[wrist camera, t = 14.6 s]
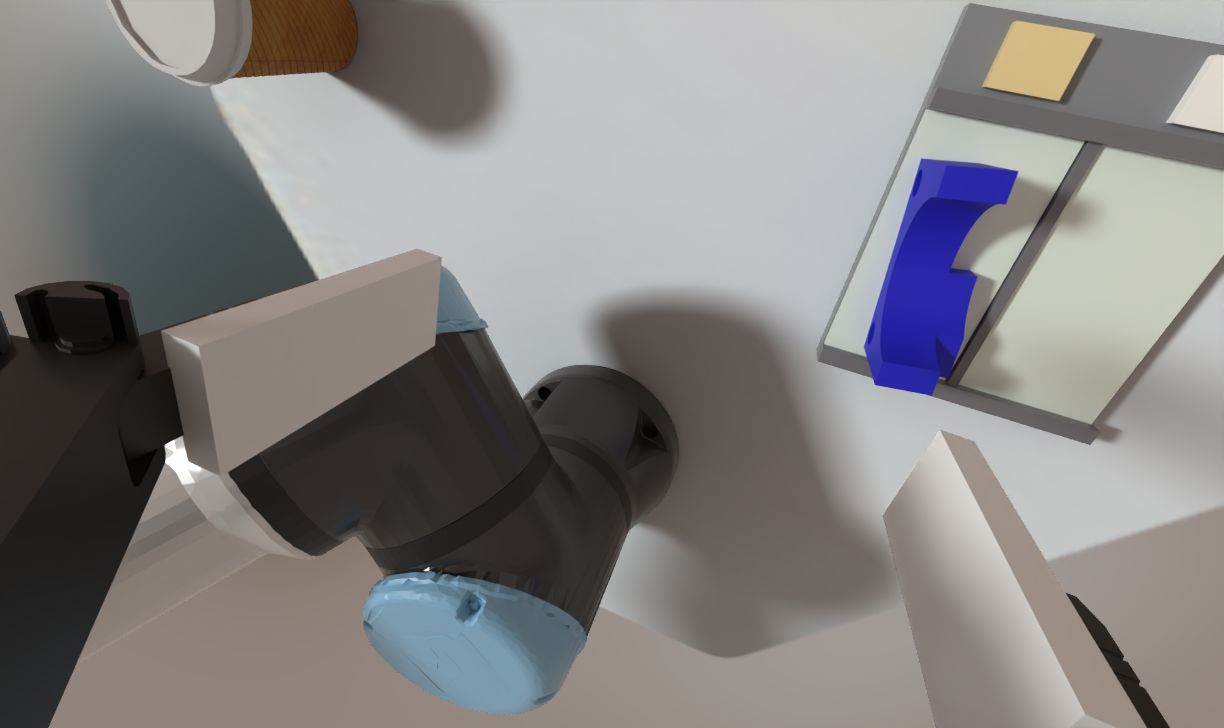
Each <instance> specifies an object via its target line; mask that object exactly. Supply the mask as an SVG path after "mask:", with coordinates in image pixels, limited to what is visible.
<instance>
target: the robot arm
mask: <svg viewBox="0 0 1224 728" xmlns="http://www.w3.org/2000/svg"><path fill="white" fill-rule="evenodd" d="M441 260H442V257H440V256H437V255H434V254H431V253H428V252H425V251H422V250H419V249H415V250H412V251H409V252H406V253H403V254H399V255H396V256H393V257H390V258H387V259H384V260H381V261H378V262H375V263H371V264H368V265H365V266H362V267H359V268H356V269H353V270H350V271H346V272H343V273H340V274H337V275H334V276H331V277H328V278H325V279H321V280H318V281H315V282H312V283H309V284H306V285H303V286H300V287H297V288H293V289H290V290H287V291H284V292H281V293H278V294H275V295H272V296H268V297H265V298H260V299H254V300H251V301H247V302H244V303H241V304H238V305H235V306H232V307H231V309H227V308H226V309H222V310H219V311H216V312H213V313H212V314H211V315H203V316H200V317H197V318H194V319H191V320H188V321H184V322H181V323H178V324H175V325H172V326H169V327H165V328H162V329H159V330H156V331H153V332H150V333H146V334H143V335H140V336H139V333H138V329H137V325H136V320H135V316H134V311H133V307H132V303H131V298H130V294H129V293H128V292H127V291H126V290H125V289H124V288H122V287H119V286H116V285H113V284H110V283H103V282H94V281H65V282H56V283H48V284H43V285H39V286H35V287H31V288H27V289H25V290H23V291H21V292H19V293H17V294H16V295H15V298H16V301H17V304H18V307H19V310H20V313H21V316H22V319H23V322H24V324H25V328H26V330H27V334H28V336H29V338H25V337H19V336H13V335H9V332H8V329H7V327H6V324H5V321H4V318H3V316H2V313H1V311H0V728H48V727H49V725H50V722H51V720H52V718H53V715H54V713H55V711H56V709H57V707H58V704H59V702H60V700H61V697H62V695H63V693H64V691H65V688H66V686H67V684H68V682H69V679H70V677H71V675H72V673H73V670H74V668H75V666H76V664H78V663H80V662H81V661H83V660H85V659H87V658H88V657H90V656H92V655H93V654H95V653H97V652H99V651H100V650H102V649H104V648H105V647H107V646H109V645H111V644H112V643H114V642H116V641H118V640H119V639H121V638H123V637H124V636H126V635H128V634H129V633H131V632H133V631H135V630H136V629H138V628H140V627H142V626H143V625H145V624H147V623H148V622H150V621H152V620H154V619H155V618H157V617H159V616H160V615H162V614H164V613H166V612H167V611H169V610H171V609H172V608H174V607H176V606H177V605H179V604H181V603H183V602H184V601H186V600H188V599H190V598H191V597H193V596H195V595H196V594H198V593H200V592H201V591H203V590H205V589H207V588H209V587H210V586H212V585H214V584H215V583H217V582H219V581H221V580H222V579H224V578H226V577H227V576H229V575H231V574H232V573H234V572H236V571H238V570H239V569H241V568H243V567H245V566H246V565H248V564H250V563H251V562H253V561H255V560H256V559H258V558H260V557H262V556H263V555H265V554H275V553H276V554H280V555H286V556H290V557H296V558H301V559H314V558H317V557H319V556H321V555H323V554H325V553H326V552H328V551H329V550H331V549H333V548H334V547H336V546H338V545H339V544H341V543H343V542H344V541H346V540H348V539H349V538H351V537H354V536H356V537H357V538H358V539H359V540H360V541H361V542H362V543H363V545H364V546H365V547H366V549H367V550H368V552H369V553H370V555H371V556H372V558H373V559H374V561H375V562H376V564H377V565H378V567H379V568H380V570H381V572H382V573H383V575H384V579H383V580H379V581H378V582H377V583H376V584H375V585H374V586H373V587H372V588H371V591H370V592H369V598H368V599H367V601H366V602H365V605H364V607H363V619H364V622H363V625H364V630H365V633H366V635H367V637H368V639H369V641H370V643H371V644H372V646H373V647H374V648H375V650H376V651H377V652H378V653H379V655H380V656H381V657H382V658H383V659H384V660H385V661H386V662H387V663H388V664H389V665H390V666H391V667H393V668H394V669H395V670H396V671H397V672H398V673H400V674H401V675H402V676H404V677H405V678H406V679H408V680H409V681H411V682H412V683H414V684H415V685H417V686H419V687H420V688H422V689H424V690H426V691H427V692H429V693H431V694H433V695H435V696H437V697H439V698H441V699H444V700H446V701H448V702H451V703H453V704H456V705H458V706H462V707H465V708H468V709H472V710H476V711H480V712H485V713H492V714H519V713H524V712H528V711H532V710H534V709H536V708H539V707H541V706H542V705H544V704H546V703H547V702H548V701H550V700H551V699H552V698H553V697H554V696H555V695H556V693H557V692H558V691H559V690H560V688H561V686H562V685H563V683H564V681H565V679H566V677H567V674H568V673H569V671H570V668H571V666H572V664H573V662H574V660H575V658H576V656H577V655H578V654H579V653H580V652H581V650H582V649H583V648H584V646H585V644H586V640H587V636H588V633H589V630H590V628H591V625H592V623H593V620H594V618H595V615H596V612H597V610H598V608H599V605H600V602H601V600H602V597H603V595H604V592H605V590H606V587H607V585H608V582H609V580H610V577H611V574H612V572H613V569H614V567H615V564H616V562H617V559H618V557H619V554H620V551H621V549H622V546H623V544H624V541H625V538H626V536H627V534H628V532H629V530H631V529H632V528H633V527H634V526H635V525H636V524H637V523H638V522H639V521H640V520H642V519H643V518H644V517H645V516H646V515H647V514H648V513H649V512H650V511H651V510H652V509H654V508H655V507H656V506H657V505H658V504H659V503H660V501H661V500H662V499H663V497H664V496H665V494H666V492H667V491H668V489H669V487H670V484H671V481H672V479H673V476H674V473H675V470H676V467H677V462H678V441H677V436H676V432H675V429H674V426H673V424H672V422H671V420H670V418H669V416H668V414H667V412H666V411H665V409H664V408H663V406H662V405H661V404H660V403H659V401H658V400H657V399H656V398H655V397H654V396H653V395H652V394H651V393H650V392H649V391H648V390H647V389H646V388H644V387H643V386H642V385H641V384H639V383H638V382H636V381H635V380H633V379H631V378H630V377H628V376H626V375H624V374H622V373H619V372H617V371H614V370H611V369H608V368H604V367H599V366H592V365H575V366H569V367H564V368H561V369H558V370H556V371H553V372H551V373H550V374H548V375H546V376H545V377H543V378H542V379H541V380H540V381H539V382H538V383H537V384H536V385H535V386H534V387H533V388H532V389H531V390H530V391H529V392H528V393H527V394H526V395H525V396H524V397H523V399H522V397H521V396H520V394H519V392H518V390H517V388H516V386H515V384H514V383H513V381H512V379H511V377H510V375H509V373H508V372H507V370H506V368H505V366H504V364H503V362H502V360H501V359H500V357H499V355H498V353H497V351H496V349H495V347H494V346H493V344H492V342H491V340H490V338H489V336H488V334H487V332H486V330H485V328H488V325H487V323H486V322H485V321H484V320H483V319H480V318H479V316H478V314H477V313H476V311H475V309H474V308H473V306H472V304H471V303H470V301H469V299H468V298H467V296H466V294H465V293H464V291H463V289H462V288H461V286H460V284H459V283H458V281H457V279H456V278H455V277H454V275H453V274H452V273H451V272H450V271H449V270H448V269H446V268H445V267H443V266H442V265H441ZM883 518H884V522H885V526H886V530H887V534H888V538H889V542H890V546H891V550H892V554H893V558H894V562H895V566H896V570H897V574H898V578H899V582H900V586H901V590H902V594H903V598H904V602H905V606H906V610H907V613H908V618H909V622H910V626H911V630H912V634H913V638H914V642H915V646H916V650H917V654H918V658H919V662H920V665H921V670H922V674H923V678H924V682H925V686H926V689H927V694H928V698H929V702H930V706H931V710H932V714H933V718H934V722H935V726H936V728H1170V727H1169V726H1168V724H1167V723H1166V721H1165V719H1164V718H1163V716H1162V715H1161V713H1160V712H1159V710H1158V708H1157V707H1156V705H1155V704H1154V702H1153V701H1152V699H1151V697H1150V696H1149V694H1148V693H1147V691H1146V690H1145V689H1144V688H1143V687H1140V686H1139V683H1140V680H1139V679H1138V678H1137V676H1136V674H1135V673H1134V671H1133V669H1132V668H1131V666H1130V665H1129V663H1128V662H1126V661H1123V657H1124V656H1123V654H1122V652H1121V651H1120V649H1119V648H1118V646H1117V644H1116V643H1115V641H1114V640H1113V638H1112V637H1111V635H1110V634H1109V632H1108V631H1107V629H1106V627H1105V626H1104V625H1103V624H1102V623H1101V622H1100V621H1099V620H1098V619H1097V618H1096V617H1095V616H1094V615H1093V614H1092V613H1091V612H1090V611H1089V609H1088V608H1087V607H1086V606H1085V605H1084V604H1082V602H1081V601H1080V600H1079V599H1078V598H1077V597H1075V596H1073V595H1070V594H1068V593H1065V591H1064V590H1063V588H1062V586H1061V585H1060V583H1059V581H1058V580H1057V578H1056V576H1055V575H1054V573H1053V571H1052V570H1051V568H1050V567H1049V565H1048V563H1047V561H1046V560H1045V558H1044V556H1043V555H1042V553H1041V551H1040V550H1039V548H1038V546H1037V545H1036V543H1035V541H1034V540H1033V538H1032V536H1031V535H1030V533H1029V531H1028V530H1027V528H1026V526H1025V525H1024V523H1023V521H1022V520H1021V518H1020V516H1019V515H1018V513H1017V512H1016V510H1015V508H1014V507H1013V505H1012V503H1011V502H1010V500H1009V498H1008V497H1007V495H1006V493H1005V492H1004V490H1003V488H1002V487H1001V485H1000V483H999V482H998V480H997V478H996V477H995V475H994V473H993V472H992V470H991V468H990V467H989V465H988V463H987V462H986V460H985V458H984V457H983V455H982V453H981V452H980V450H979V448H978V447H977V445H976V444H975V442H974V441H971V440H968V439H965V438H962V437H960V436H957V435H954V434H951V433H948V432H945V431H942V430H939V431H938V433H937V434H936V436H935V438H934V439H933V441H932V442H931V444H930V445H929V447H928V448H927V450H926V451H925V453H924V454H923V456H922V457H921V459H920V460H919V462H918V463H917V465H916V466H915V468H914V469H913V471H912V472H911V474H910V475H909V477H908V478H907V480H906V481H905V483H904V484H903V486H902V487H901V489H900V491H899V492H898V494H897V495H896V497H895V498H894V500H893V501H892V503H891V504H890V506H889V507H888V509H887V510H886V512H885V513H884V515H883Z"/></svg>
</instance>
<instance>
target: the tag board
mask: <svg viewBox="0 0 1224 728" xmlns="http://www.w3.org/2000/svg"><path fill="white" fill-rule="evenodd" d="M921 158H922V159H934V160H946V161H959V162H971V163H981V164H986V165H991V166H996V167H1000V168H1005V169H1010V170H1015V171H1019V172H1018V174H1017V177H1016V180H1015V182H1014V185H1013V187H1012V190H1011V193H1010V195H1009V198H1008V200H1007V203H1006V205H1005V204H997V205H994V206H993V207H991V208H989V209H988V210H987V211H985V212H984V213H983V214H982V215H981V216H980V217H979V219H978V220H977V221H976V222H975V224H974V225H973V226H972V228H971V229H970V231H969V232H968V234H967V236H966V237H965V239H964V241H963V243H962V244H961V246H960V248H959V250H958V252H957V255H956V257H955V259H954V261H953V264H952V266H951V268H954V269H962V270H970V271H971V272H973V273H974V274H975V275H976V276H977V280H976V283H975V285H974V288H973V292H972V295H971V299H970V302H969V306H968V311H967V316H966V322H965V331H964V340H963V342H962V345H961V347H960V350H959V352H958V355H957V357H956V360H955V362H954V365H953V367H952V370H951V373H950V375H949V378H943V377H939V379H938V381H937V384H936V387H935V389H934V392H933V394H932V395H929V396H933V397H936V398H939V399H942V400H946V401H949V402H952V403H955V404H959V405H962V406H965V407H969V408H972V409H975V410H978V411H982V412H985V413H988V414H991V415H995V416H998V417H1001V418H1004V419H1008V420H1011V421H1014V422H1017V423H1021V424H1024V425H1027V426H1030V427H1034V428H1037V429H1040V430H1043V431H1047V432H1050V433H1053V434H1056V435H1060V436H1063V437H1066V438H1069V439H1073V440H1076V441H1079V442H1082V443H1086V444H1089V445H1091V443H1092V442H1093V441H1094V440H1095V438H1096V437H1097V436H1098V435H1099V433H1100V431H1099V430H1098V429H1097V428H1096V427H1095V426H1094V425H1093V424H1092V423H1093V422H1094V421H1095V419H1096V418H1097V417H1098V415H1099V414H1100V413H1101V412H1102V410H1103V409H1104V408H1105V406H1106V405H1107V404H1108V403H1109V401H1110V400H1111V399H1112V397H1113V396H1114V395H1115V394H1116V392H1117V391H1118V390H1119V388H1120V387H1121V386H1122V385H1123V383H1124V382H1125V381H1126V379H1127V378H1128V377H1129V376H1130V374H1131V373H1132V372H1133V370H1134V369H1135V368H1136V367H1137V365H1138V364H1139V363H1140V361H1141V360H1142V359H1143V358H1144V356H1145V355H1146V354H1147V352H1148V351H1149V350H1150V349H1151V347H1152V346H1153V345H1154V344H1155V342H1156V341H1157V340H1158V338H1159V337H1160V336H1161V335H1162V333H1163V332H1164V331H1165V329H1166V328H1167V327H1168V326H1169V324H1170V323H1171V322H1172V320H1173V319H1174V318H1175V317H1176V315H1177V314H1178V313H1179V311H1180V310H1181V309H1182V308H1183V306H1184V305H1185V304H1186V302H1187V301H1188V300H1189V299H1190V297H1191V296H1192V295H1193V293H1194V292H1195V291H1196V290H1197V288H1198V287H1199V286H1200V284H1201V283H1202V282H1203V281H1204V279H1205V278H1206V277H1207V275H1208V274H1209V273H1210V272H1211V270H1212V269H1213V268H1214V266H1215V265H1216V264H1217V263H1218V261H1219V260H1220V259H1221V257H1222V256H1223V255H1224V45H1219V44H1213V43H1207V42H1201V41H1195V40H1189V39H1183V38H1177V37H1171V36H1165V35H1159V34H1153V33H1147V32H1141V31H1135V30H1129V29H1123V28H1117V27H1110V26H1104V25H1098V24H1092V23H1086V22H1080V21H1074V20H1068V19H1062V18H1056V17H1050V16H1044V15H1038V14H1032V13H1026V12H1020V11H1014V10H1008V9H1002V8H995V7H989V6H983V5H977V4H971V3H970V4H968V5H967V6H965V7H964V9H963V12H962V14H961V16H960V19H959V21H958V23H957V26H956V28H955V30H954V33H953V35H952V37H951V39H950V42H949V44H948V46H947V49H946V51H945V53H944V56H943V58H942V60H941V63H940V65H939V67H938V70H937V72H936V74H935V77H934V79H933V81H932V83H931V86H930V88H929V90H928V93H927V95H926V97H925V100H924V102H923V104H922V107H921V109H920V111H919V114H918V116H917V118H916V121H915V123H914V125H913V128H912V130H911V132H910V134H909V137H908V139H907V141H906V144H905V146H904V148H903V151H902V153H901V155H900V158H899V160H898V162H897V165H896V167H895V169H894V172H893V174H892V176H891V178H890V181H889V183H888V185H887V188H886V190H885V192H884V195H883V197H882V199H881V202H880V204H879V206H878V209H877V211H876V213H875V216H874V218H873V220H872V223H871V225H870V227H869V229H868V232H867V234H866V236H865V239H864V241H863V243H862V246H861V248H860V250H859V253H858V255H857V257H856V260H855V262H854V264H853V267H852V269H851V271H850V273H849V276H848V278H847V280H846V283H845V285H844V287H843V290H842V292H841V294H840V297H839V299H838V301H837V304H836V306H835V308H834V311H833V313H832V315H831V318H830V320H829V322H828V324H827V327H826V329H825V331H824V334H823V336H822V338H821V341H820V343H819V345H818V348H817V358H818V361H819V362H822V363H825V364H828V365H832V366H835V367H838V368H842V369H845V370H848V371H851V372H855V373H858V374H861V375H864V376H868V377H871V378H873V376H872V373H871V370H870V366H869V363H868V359H867V356H866V353H865V349H864V344H865V341H866V338H867V335H868V331H869V328H870V325H871V321H872V318H873V315H874V312H875V308H876V305H877V302H878V298H879V295H880V292H881V289H882V285H883V282H884V279H885V275H886V272H887V269H888V266H889V262H890V259H891V256H892V252H893V249H894V246H895V243H896V239H897V236H898V233H899V230H900V226H901V223H902V220H903V216H904V213H905V210H906V207H907V203H908V200H909V197H910V193H911V190H912V187H913V184H914V180H915V177H916V174H917V170H918V167H919V164H920V161H921Z"/></svg>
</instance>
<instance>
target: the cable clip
mask: <svg viewBox="0 0 1224 728" xmlns="http://www.w3.org/2000/svg"><path fill="white" fill-rule="evenodd" d="M1018 172H1019V171H1015V170H1010V169H1005V168H1000V167H996V166H991V165H986V164H981V163H971V162H959V161H946V160H934V159H922V158H921V161H920V164H919V167H918V170H917V174H916V177H915V180H914V184H913V187H912V190H911V193H910V197H909V200H908V203H907V207H906V210H905V213H904V216H903V220H902V223H901V226H900V230H899V233H898V236H897V239H896V243H895V246H894V249H893V252H892V256H891V259H890V262H889V266H888V269H887V272H886V275H885V279H884V282H883V285H882V289H881V292H880V295H879V298H878V302H877V305H876V308H875V312H874V315H873V318H872V321H871V325H870V328H869V331H868V335H867V338H866V341H865V344H864V349H865V353H866V356H867V359H868V363H869V366H870V370H871V373H872V376H873V380H874V383H875V385H878V386H884V387H889V388H894V389H900V390H905V391H910V392H916V393H921V394H926V395H932V394H933V392H934V389H935V387H936V384H937V381H938V379H939V377H943V378H949V375H950V373H951V370H952V367H953V365H954V362H955V360H956V357H957V355H958V352H959V350H960V347H961V345H962V342H963V340H964V331H965V322H966V316H967V311H968V306H969V302H970V299H971V295H972V292H973V288H974V285H975V283H976V280H977V276H976V275H975V274H974V273H973V272H971V271H970V270H962V269H954V268H951V266H952V264H953V261H954V259H955V257H956V255H957V252H958V250H959V248H960V246H961V244H962V243H963V241H964V239H965V237H966V236H967V234H968V232H969V231H970V229H971V228H972V226H973V225H974V224H975V222H976V221H977V220H978V219H979V217H980V216H981V215H982V214H983V213H984V212H985V211H987V210H988V209H989V208H991V207H993V206H994V205H997V204H1005V205H1006V203H1007V200H1008V198H1009V195H1010V193H1011V190H1012V187H1013V185H1014V182H1015V180H1016V177H1017V174H1018Z"/></svg>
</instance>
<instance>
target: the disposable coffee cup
mask: <svg viewBox="0 0 1224 728" xmlns="http://www.w3.org/2000/svg"><path fill="white" fill-rule="evenodd" d="M106 2H107V4H108V7H109V9H110V11H111V13H112V15H113V17H114V18H115V20H116V22H117V24H118V26H119V28H120V29H121V31H122V33H123V35H124V36H125V37H126V39H127V40H128V41H129V42H130V44H131V45H132V46H133V48H134V49H135V50H136V51H137V52H138V53H139V54H140V55H141V56H142V57H143V58H144V59H145V60H146V61H147V62H149V63H150V64H151V65H153V66H154V67H155V68H157V69H159V70H161V71H163V72H166V73H169V74H172V75H174V76H175V77H177V78H179V79H181V80H182V81H184V82H187V83H190V84H192V85H197V86H212V85H216V84H219V83H222V82H224V81H226V80H228V79H230V78H236V77H237V78H241V77H252V76H254V77H257V76H268V75H269V76H273V75H283V74H284V75H288V74H297V73H298V74H302V73H305V74H306V73H320V72H335V71H339V70H341V69H343V68H344V67H346V66H347V65H348V64H349V62H350V60H351V59H352V57H353V55H354V52H355V49H356V44H357V25H356V20H355V16H354V12H353V9H352V7H351V4H350V2H349V0H106Z"/></svg>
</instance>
